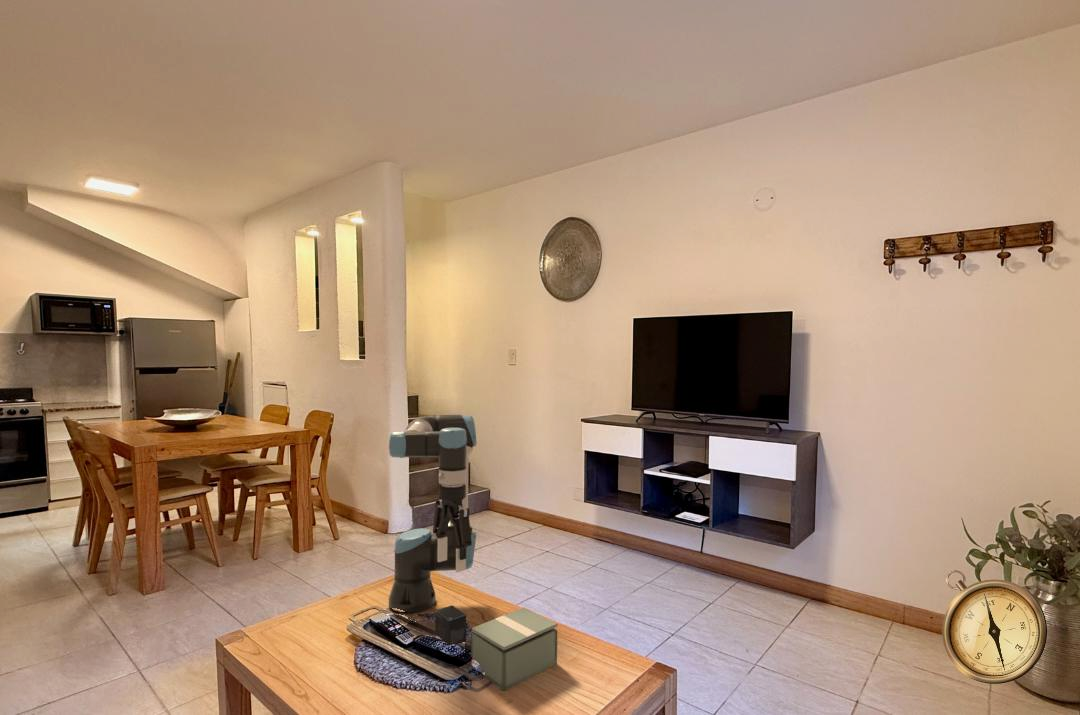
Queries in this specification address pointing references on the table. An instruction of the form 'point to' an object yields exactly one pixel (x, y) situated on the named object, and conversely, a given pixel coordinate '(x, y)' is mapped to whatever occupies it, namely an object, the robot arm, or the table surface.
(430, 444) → the robot arm
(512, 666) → the carton
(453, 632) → the box
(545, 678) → the table surface
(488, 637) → the lid
